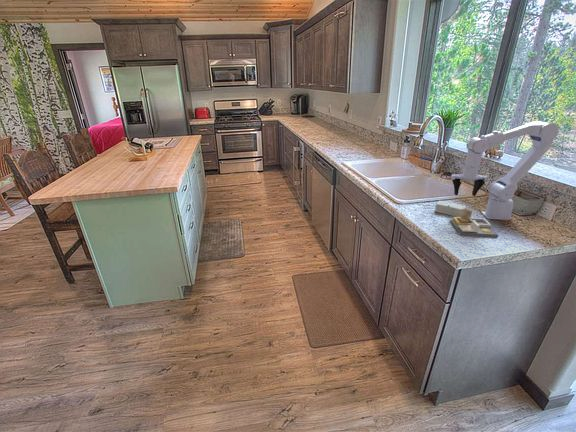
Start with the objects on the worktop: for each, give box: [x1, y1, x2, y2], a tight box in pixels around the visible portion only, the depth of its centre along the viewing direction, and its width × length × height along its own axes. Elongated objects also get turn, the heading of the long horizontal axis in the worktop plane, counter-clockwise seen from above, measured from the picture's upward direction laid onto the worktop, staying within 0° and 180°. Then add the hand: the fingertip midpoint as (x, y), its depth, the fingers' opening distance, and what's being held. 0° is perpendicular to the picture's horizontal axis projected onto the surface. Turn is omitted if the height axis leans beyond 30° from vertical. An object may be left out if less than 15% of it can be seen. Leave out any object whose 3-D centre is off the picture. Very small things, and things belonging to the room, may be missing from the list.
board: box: [449, 216, 499, 238], centre depth 130 cm, size 14×14×2 cm
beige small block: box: [459, 208, 473, 223], centre depth 132 cm, size 4×4×6 cm
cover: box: [458, 220, 480, 232], centre depth 126 cm, size 6×5×3 cm
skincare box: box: [434, 200, 467, 217], centre depth 145 cm, size 6×4×12 cm
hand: (464, 194), depth 139 cm, fingers open, 7 cm apart
